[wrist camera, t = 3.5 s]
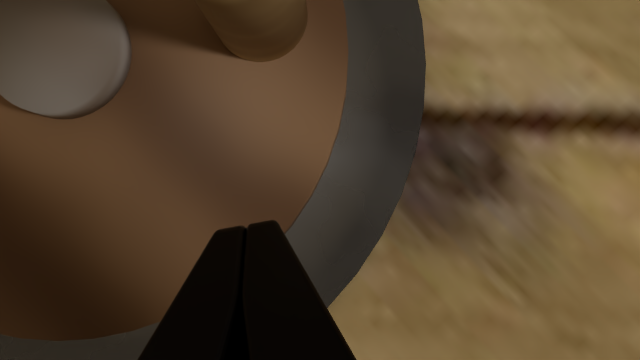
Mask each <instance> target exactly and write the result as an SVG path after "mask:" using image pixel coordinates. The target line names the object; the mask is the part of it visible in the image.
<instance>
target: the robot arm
mask: <svg viewBox="0 0 640 360" xmlns="http://www.w3.org/2000/svg"><path fill="white" fill-rule="evenodd" d="M137 360H356V358H355V356H354V355H353V353H352V351H351V349H350V348H349V346H348V344H347V342H346V341H345V339H344V337H343V335H342V334H341V332H340V330H339V328H338V327H337V325H336V323H335V321H334V320H333V318H332V316H331V314H330V313H329V311H328V309H327V307H326V306H325V304H324V302H323V300H322V299H321V297H320V295H319V293H318V292H317V290H316V288H315V286H314V285H313V283H312V281H311V279H310V278H309V276H308V274H307V272H306V271H305V269H304V267H303V265H302V264H301V262H300V260H299V258H298V257H297V255H296V253H295V251H294V250H293V248H292V246H291V244H290V243H289V241H288V239H287V237H286V236H285V234H284V232H283V230H282V229H281V227H280V225H279V224H278V222H277V221H276V220H267V221H262V222H256V223H251V224H249V225H248V226H247V228H246V227H245V226H242V225H239V226H234V227H228V228H223V229H219V230H217V231H216V232H214V234H213V235H212V237H211V238H210V240H209V242H208V243H207V245H206V247H205V248H204V250H203V252H202V253H201V255H200V257H199V258H198V260H197V262H196V263H195V265H194V267H193V268H192V270H191V272H190V273H189V275H188V277H187V278H186V280H185V282H184V283H183V285H182V286H181V288H180V290H179V291H178V293H177V295H176V296H175V298H174V300H173V301H172V303H171V305H170V306H169V308H168V310H167V311H166V313H165V315H164V316H163V318H162V320H161V321H160V323H159V325H158V326H157V328H156V330H155V331H154V333H153V335H152V336H151V338H150V340H149V341H148V343H147V345H146V346H145V348H144V349H143V351H142V353H141V354H140V356H139V358H138V359H137Z"/></svg>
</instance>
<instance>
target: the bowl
mask: <svg viewBox="0 0 640 360" xmlns="http://www.w3.org/2000/svg"><path fill="white" fill-rule="evenodd" d="M343 3H344V8H345V13H346V26H347V39H348V70H347V87H346V98H345V103H344V108H343V114H342V119H341V124H340V129H339V132H338V135H337V138H336V141H335V144H334V147H333V150H332V153H331V156H330V159H329V162H328V165H327V167H326V169H325V171H324V173H323V175H322V177H321V179H320V181H319V183H318V185H317V187H316V189H315V191H314V193H313V195H312V197H311V198H310V200H309V201H308V203H307V204H306V206H305V207H304V209H303V210H302V212H301V213H300V215H299V216H298V218H297V219H296V221H295V222H294V224H293V225H292V227H291V228H290V229H289V230H288V231H287V232H286V234H285V236H286V237H287V239H288V241H289V243H290V244H291V246H292V248H293V250H294V251H295V253H296V255H297V257H298V258H299V260H300V262H301V264H302V265H303V267H304V269H305V271H306V272H307V274H308V276H309V278H310V279H311V281H312V283H313V285H314V286H315V288H316V290H317V292H318V293H319V295H320V297H321V299H322V300H323V302H324V304H325V306H326V307H327V308H328V306H329V305H330V304H331V303H332V302H333V301H334V300H335V298H336V297H337V296H338V295H339V294H340V293H341V291H342V290H343V289H344V288H345V287H346V286H347V284H348V283H349V282H350V281H351V280H352V279H353V277H354V276H355V275H356V274H357V273H358V271H359V269H360V268H361V266H362V265H363V263H364V262H365V260H366V259H367V257H368V256H369V254H370V253H371V251H372V250H373V248H374V247H375V245H376V244H377V242H378V240H379V239H380V237H381V236H382V234H383V232H384V230H385V228H386V226H387V224H388V221H389V219H390V217H391V215H392V213H393V211H394V209H395V207H396V205H397V203H398V201H399V199H400V196H401V194H402V191H403V188H404V185H405V182H406V179H407V176H408V173H409V170H410V167H411V164H412V161H413V158H414V155H415V151H416V146H417V141H418V135H419V130H420V124H421V119H422V114H423V108H424V89H425V69H426V61H425V49H424V37H423V26H422V18H421V13H420V9H419V4H418V0H343ZM159 323H160V322H157V323H154V324H152V325H149V326H146V327H143V328H140V329H137V330H134V331H131V332H126V333H121V334H116V335H111V336H106V337H101V338H96V339H82V340H66V341H50V340H36V339H22V338H16V337H11V336H7V335H2V334H0V360H137V359H138V358H139V356H140V354H141V353H142V351H143V349H144V348H145V346H146V345H147V343H148V341H149V340H150V338H151V336H152V335H153V333H154V331H155V330H156V328H157V326H158V325H159Z"/></svg>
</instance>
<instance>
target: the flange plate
mask: <svg viewBox="0 0 640 360" xmlns="http://www.w3.org/2000/svg"><path fill="white" fill-rule="evenodd" d="M347 70H348V39H347V26H346V13H345V8H344V3H343V0H0V334H2V335H7V336H11V337H16V338H22V339H36V340H50V341H66V340H82V339H96V338H101V337H106V336H111V335H116V334H121V333H126V332H131V331H134V330H137V329H140V328H143V327H146V326H149V325H152V324H154V323H157V322H160V321H161V320H162V318H163V316H164V315H165V313H166V311H167V310H168V308H169V306H170V305H171V303H172V301H173V300H174V298H175V296H176V295H177V293H178V291H179V290H180V288H181V286H182V285H183V283H184V282H185V280H186V278H187V277H188V275H189V273H190V272H191V270H192V268H193V267H194V265H195V263H196V262H197V260H198V258H199V257H200V255H201V253H202V252H203V250H204V248H205V247H206V245H207V243H208V242H209V240H210V238H211V237H212V235H213V234H214V232H216V231H217V230H219V229H223V228H228V227H234V226H239V225H242V226H245V227H246V228H247V226H248V225H249V224H251V223H256V222H262V221H267V220H276V221H277V222H278V224H279V225H280V227H281V229H282V230H283V232H284V234H286V232H287V231H288V230H289V229H290V228H291V227H292V225H293V224H294V222H295V221H296V219H297V218H298V216H299V215H300V213H301V212H302V210H303V209H304V207H305V206H306V204H307V203H308V201H309V200H310V198H311V197H312V195H313V193H314V191H315V189H316V187H317V185H318V183H319V181H320V179H321V177H322V175H323V173H324V171H325V169H326V167H327V165H328V162H329V159H330V156H331V153H332V150H333V147H334V144H335V141H336V138H337V135H338V132H339V129H340V124H341V119H342V114H343V108H344V103H345V98H346V87H347Z"/></svg>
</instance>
